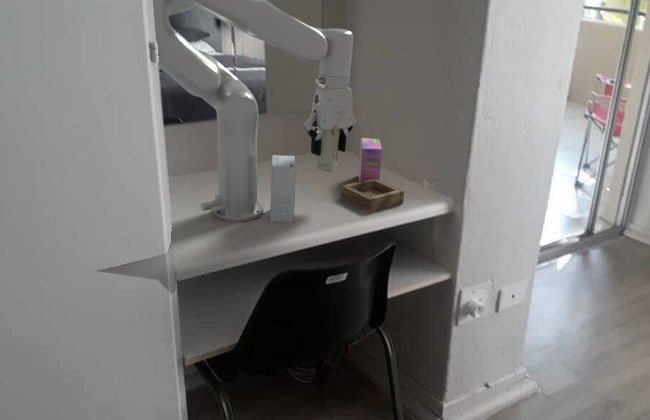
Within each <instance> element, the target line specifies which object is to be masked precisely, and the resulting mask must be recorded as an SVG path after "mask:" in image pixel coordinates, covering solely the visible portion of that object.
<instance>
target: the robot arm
mask: <svg viewBox="0 0 650 420" xmlns="http://www.w3.org/2000/svg"><path fill="white" fill-rule="evenodd" d="M153 6H154V17H155V28H156V40H157V44H158V56H159V66H158V67H159V69H161V70H162V71H163V72H164V73H166V75H168V76H170V77H171V79H173V80H174V81H175V82H177V84H178V85H180V86H181V88H183V89H184V90H185V91H186V92H187V93H189V94H191V96H195V97H198V98H201V99H202V100H204V101H205V102H206V103H207V104H208V105H209V106H211V107H212V108H213V109H214V110H215V112H216V123H217V124H216V125H217V126H216V143H217V146H216V147H217V148H216V149H217V150H216V151H217V152H216V153H217V173H218V175H217V176H218V178H217V181H218V194H216V195H214V199H212V200H211V201H209V202H208V201H206V202H203V203H200V209H201V211H202V212H205V211H209V210H210V212H211V213H212V214H213V215H214V216H215V217H217V218H218V219H221V220H224V221H228V222H246V221H252V220H254V219H257V218H259V217H261V216H262V215H263V214H264V206H263V204H262V203H260V202H259V201H258V127H259V116H260V115H259V106H258V102H257V99H256V98H255V97H256V96H255V95H254V94H253V93H252V92H251V90H250V89H249V87H248V86H247V85H246V84H245V83H244V82H242V81H241V80H240V79H239V78H238V77H236V75H234V74H233V73H232V72H231V71H229V69H228V68H226V67H225V66H224V65H223V64H222V63H221V62H219V61H218V60H217V59H216V58H215V57H213V56H212V55H211V54H210V53H208V52H206V51H204V50H199V49H197V48H196V47H195V46H194V45H192V44H191V43H190V42H189V41H188V40H187V39H186V38H185V37H184V36H183V35H181V34H180V33H179V32H178V31H177V30H175V28H173V27H172V25H171V22H170V19H169V18H170V16H172V15H177V14H180V13H183V12H188V11H190V10H193V9H199V11H202V12H203V13H204V12H205V13H206V14H208V15H210V16H211V17H214V18H215V19H218V20H220V21H222V22H224V23H226V24H227V25H230V26H231V27H233V28H235V29H236V30H239V31H241V32H242V33H245V34H246V35H248V36H250V37H252V38H256V39H258V40H260V41H263V42H264V43H266V44H268V45H270V46H272V47H274V48H275V49H278V50H280V51H282V52H284V53H286V54H287V55H290V56H292V57H293V58H296V59H297V60H299V61H301V62H303V63H306V64H317V63H319V68H318V77H317V78H315V84H317V86H316V87H315V92H314V95H313V99H312V103H311V104H312V105H311V113H310V116H309V117H307V119H306V120H305V121H304V122H303V123H302V127H303V128H304V130H305V132H306V134H307V135H308V137H309V138H311V141H310V142H311V143H310V152H311V154H313V155H315V156H317V157H318V156H320V154H321V142H322V141H321V140H320V137H321V135H322V133H323V131H329V130H332V129H333V125H338V127H337V129H340V136H339V147H338V152H339V151H340V152H342V153H345V152H346V148H347V147H346V146H347V137H349V136H350V133H351V131H352V130H353V128H354V126H355V124H356V123H357V122H358V119H357V118H356V116H355V115H353V114H354V109H353V108H354V107H353V106H354V103H353V102H354V100H353V92H352V88H351V87H350V80H351V78H350V77H351V68H352V67H351V66H352V59H353V58H352V57H353V48H354V47H353V46H354V34H353V32H352V31H350V30H348V29H343V28H331V27H330V28H320V27H314V26H310V25H308V24H307V23H304V22H303V21H301V20H299V19H297V18H296V17H294V16H292V15H290V14H288V13H286V12H285V11H283V10H281V9H279V8H278V7H276V6H275V5H274V4H272V3H271V2H269V1H268V0H153Z"/></svg>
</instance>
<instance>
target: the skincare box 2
mask: <svg viewBox="0 0 650 420" xmlns="http://www.w3.org/2000/svg"><path fill="white" fill-rule="evenodd" d="M337 127H338V125H333V129H332V130H329V131H323V133H322V135H321V137H320V140H321V141H322V142H321V154H320V156H317V161H316V162H317V163H316V171H320V172H327V173H333V172H334V171H335V170H336V169H337V166H338V158H339V157H338V156H339V150H338V147H339V136H340V129H337Z"/></svg>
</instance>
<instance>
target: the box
mask: <svg viewBox="0 0 650 420" xmlns="http://www.w3.org/2000/svg"><path fill="white" fill-rule="evenodd" d="M382 156H383V148H382V142H381V139H380V138H372V137H371V138H369V137H365V138H364V137H362V138H361V137H360V148H359V163H358V164H359V165H358V175H357V176H358V182H360V181H364V180H368V179H373V178H375V179H378V180H380V178H381V165H382V158H383V157H382Z"/></svg>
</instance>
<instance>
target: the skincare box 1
mask: <svg viewBox="0 0 650 420" xmlns="http://www.w3.org/2000/svg"><path fill="white" fill-rule="evenodd" d="M295 157H296V156H294V155H279V154H272V156H271V172H270V173H271V174H270V175H271V180H270V185H271V186H270V204H269V206H270V208H269V209H270V222H271V223H273V222H274V223H276V222H277V223H294V221H295V205H296V204H295V203H296V181H297V180H296V179H297V178H296V177H297V167H296V162H297V161H296V158H295Z"/></svg>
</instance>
